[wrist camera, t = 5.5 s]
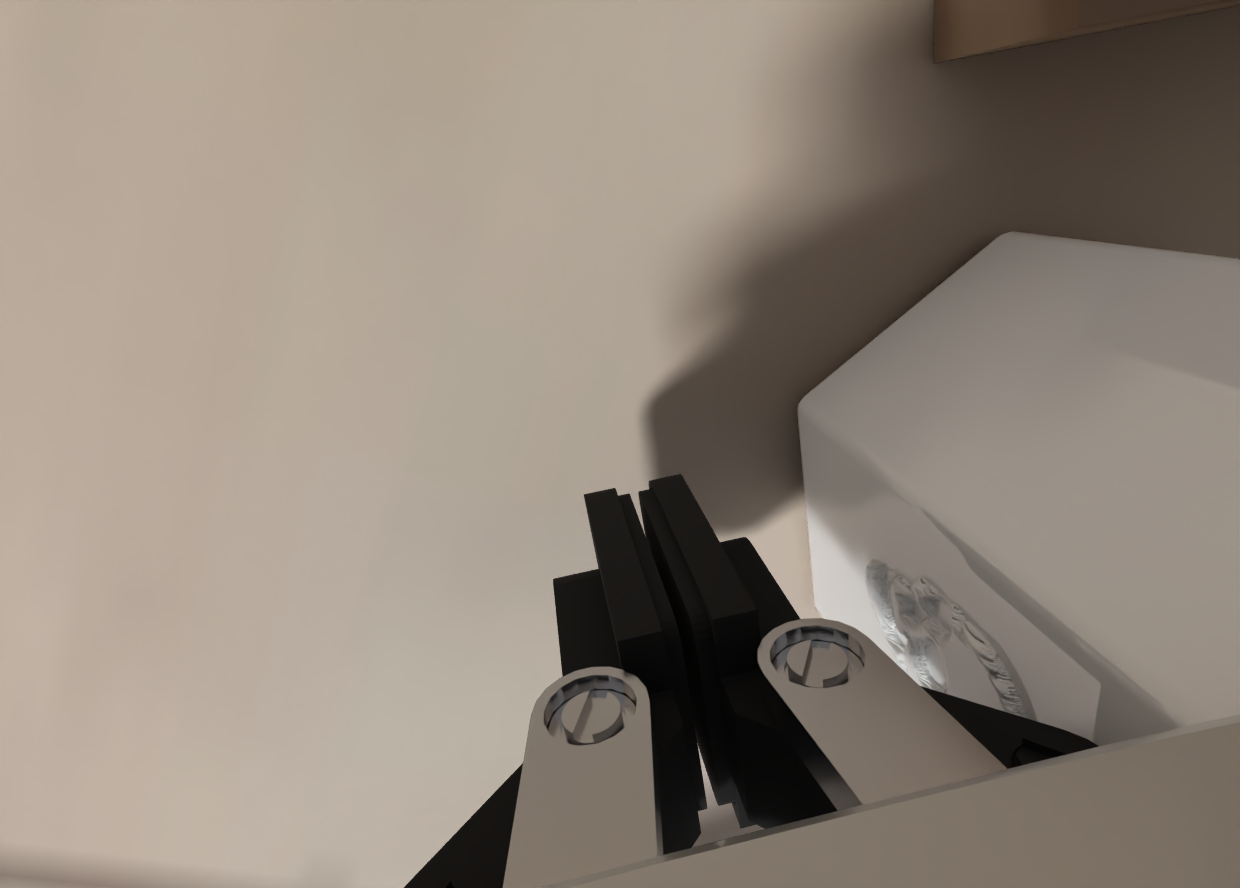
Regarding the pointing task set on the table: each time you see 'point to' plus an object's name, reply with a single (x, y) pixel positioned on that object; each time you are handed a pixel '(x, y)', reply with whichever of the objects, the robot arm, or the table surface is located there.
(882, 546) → the jar
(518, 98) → the table surface
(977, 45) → the walnut bay
